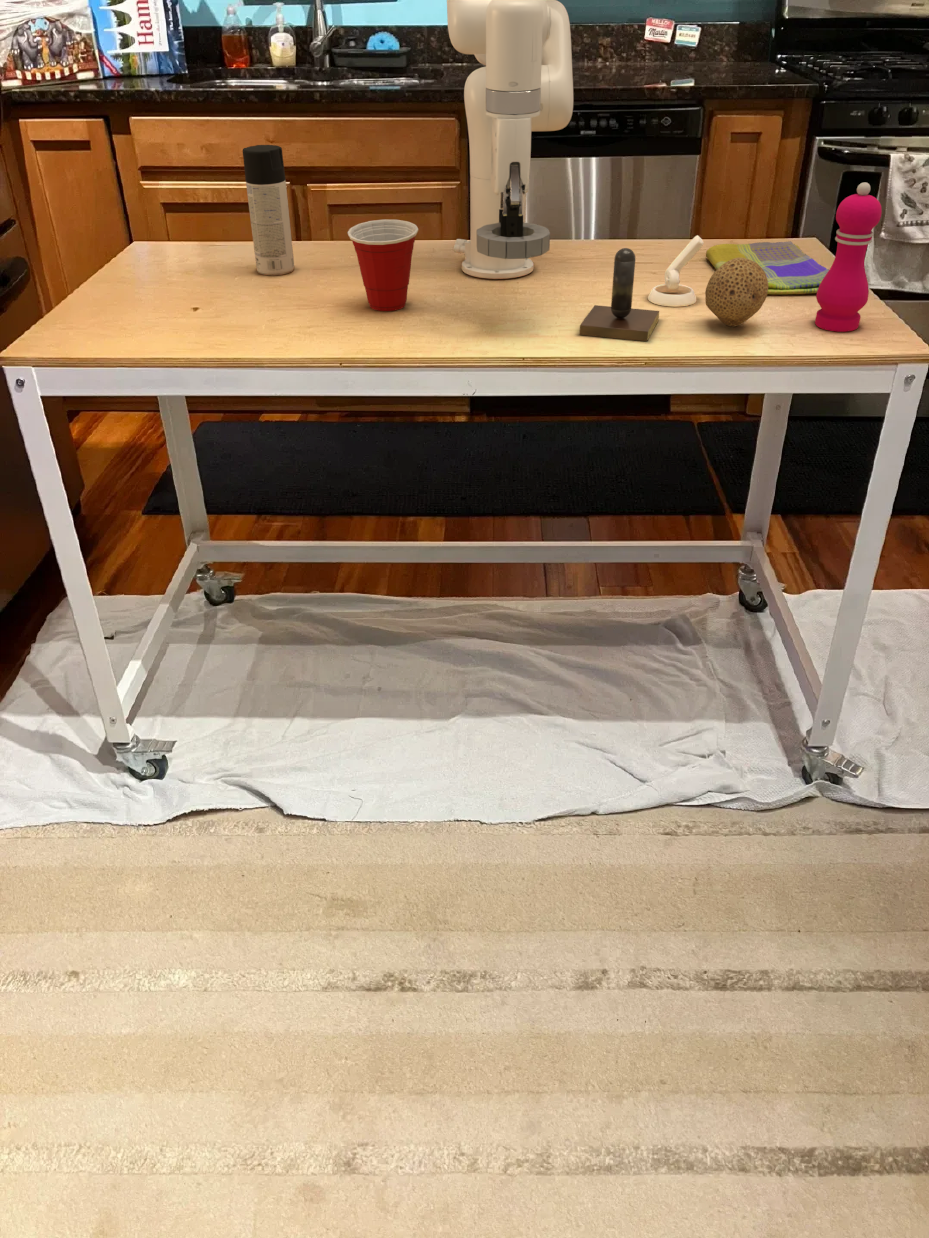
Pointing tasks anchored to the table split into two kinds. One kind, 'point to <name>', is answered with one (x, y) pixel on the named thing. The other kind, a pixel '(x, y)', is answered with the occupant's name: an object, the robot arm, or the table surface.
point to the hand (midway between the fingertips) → (510, 239)
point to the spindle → (621, 307)
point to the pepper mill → (848, 263)
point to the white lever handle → (676, 280)
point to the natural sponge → (736, 291)
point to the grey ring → (513, 242)
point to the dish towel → (775, 265)
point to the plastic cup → (385, 260)
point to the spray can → (268, 209)
